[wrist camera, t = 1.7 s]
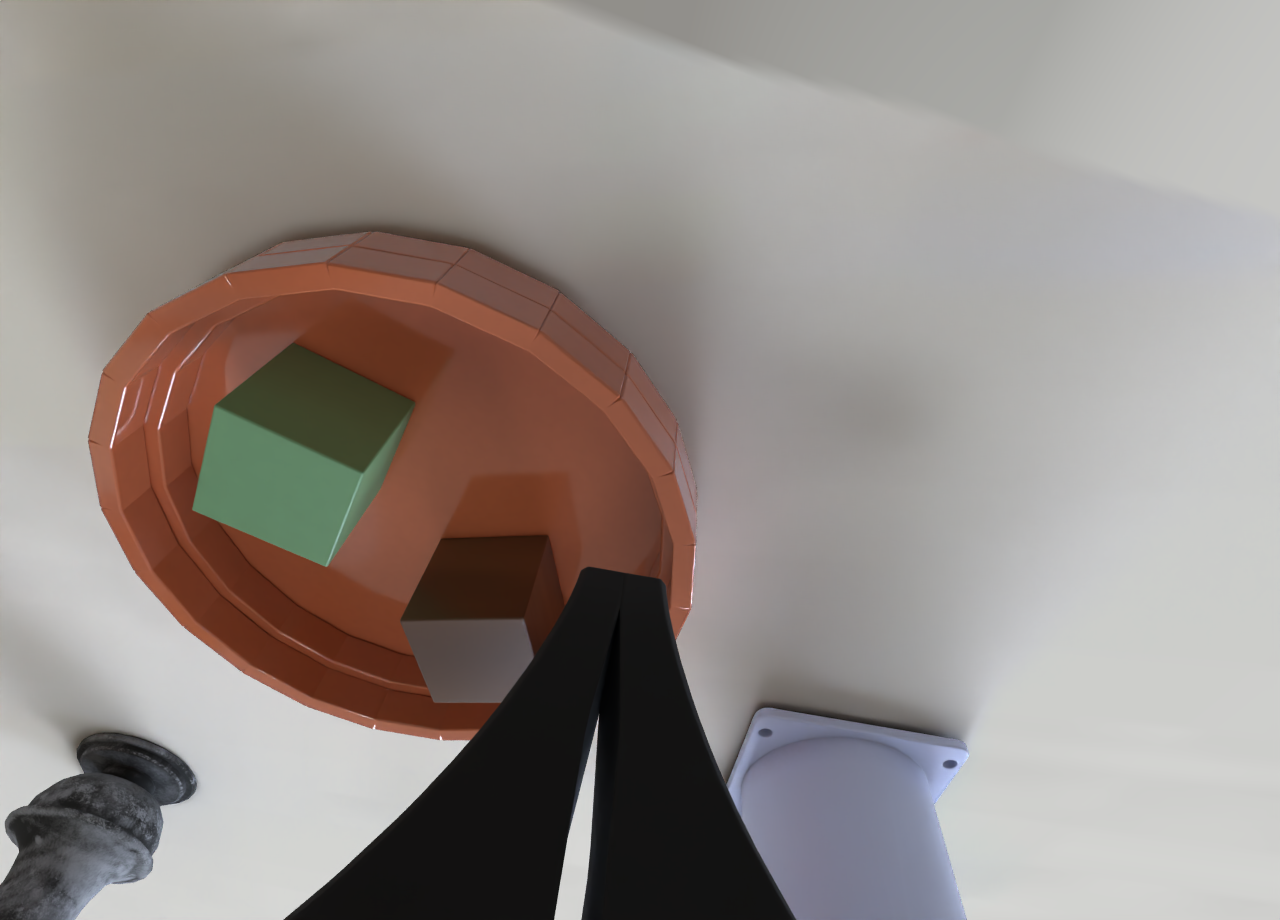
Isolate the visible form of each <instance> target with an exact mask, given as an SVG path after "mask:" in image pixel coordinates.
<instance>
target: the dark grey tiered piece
mask: <svg viewBox="0 0 1280 920" xmlns="http://www.w3.org/2000/svg"><path fill="white" fill-rule="evenodd" d="M77 759H78V761H79V763H80V765H81V767H82V769H83V771H84V774H80V775H77V776H73V777H69V778H66V779H63V780H61V781H59V782H57V783H55V784H54V785H52V786H51V787H49V788H48V789H46V790H45V791H43V792H41V793H40V794H38V795H37V796H36V797H35V798H34V799H33V800H32V801H31V803H30V804H29V805H28V806H23V807H20V808H18V809H17V810H15V811H13V812H11V813H10V814H9V816H8V817H7V819H6V820H5V829H6V833H7V835H8V836H9V838H10V839H11V841H12V842H13V843H14V844H15V845H16V846H17V847H18V848H19V854H18V856H17V858H16V860H15V862H14V864H13V866H12V868H11V870H10V871H9V873H8V875H7V876H6V878H5V880H4V881H3V883H2V884H1V885H0V920H75V919H76V917H77V916H78V915H79V913H80V912H81V910H82V909H83V908H84V907H85V905H86V904H87V903H88V902H89V901H90V900H91V899H92V898H93V897H94V896H95V895H96V894H97V893H98V892H99V891H100V890H101V889H102V888H103V887H104V886H105V885H108V884H124V883H133V882H136V881H138V880H141V879H143V878H145V877H146V876H147V875H148V874H149V873H150V872H151V871H152V867H153V859H152V855H153V853H154V852H155V850H156V849H157V847H158V844H159V840H160V836H161V832H162V827H163V818H162V814H161V809H160V806H162V805H168V804H175V803H180V802H182V801H185V800H187V799H189V798H190V797H191V796H192V795H193V793H194V792H195V790H196V785H197V783H196V780H195V777H194V774H193V773H192V772H191V770H190V769H189V768H188V766H187V765H186V764H184V763H183V762H182V761H181V760H180V759H179V758H178V757H176V756H175V755H173V754H171V753H170V752H168V751H167V750H165V749H163V748H161V747H159V746H157V745H155V744H152V743H150V742H148V741H145V740H141V739H138V738H135V737H131V736H126V735H121V734H104V733H103V734H97V735H92V736H90V737H88V738H86V739H84V740H83V741H82V742H81V743H80V745H79V746H78V748H77Z"/></svg>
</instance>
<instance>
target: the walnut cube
mask: <svg viewBox="0 0 1280 920" xmlns="http://www.w3.org/2000/svg"><path fill="white" fill-rule="evenodd" d="M564 607H565V605H564V601H563V597H562V592H561V588H560V584H559V579H558V575H557V571H556V566H555V562H554V558H553V553H552V549H551V545H550V540H549V536H548V535H538V536H507V537H476V538H444V539H440V541H439V543H438V545H437V547H436V549H435V551H434V553H433V555H432V557H431V559H430V561H429V563H428V565H427V567H426V569H425V571H424V573H423V575H422V577H421V579H420V581H419V583H418V585H417V587H416V589H415V591H414V593H413V595H412V597H411V599H410V601H409V603H408V605H407V607H406V609H405V611H404V613H403V615H402V617H401V619H400V623H401V625H402V627H403V630H404V632H405V635H406V637H407V639H408V642H409V644H410V647H411V649H412V651H413V654H414V656H415V659H416V661H417V663H418V666H419V668H420V671H421V673H422V675H423V678H424V680H425V682H426V685H427V687H428V690H429V692H430V694H431V697H432V699H433V702H435V703H501V702H502V701H503V699H504V698H505V697H506V695H507V694H508V693H509V691H510V690H511V689H512V687H513V686H514V685H515V683H516V682H517V681H518V679H519V678H520V676H521V675H522V674H523V672H524V671H525V670H526V668H527V667H528V665H529V664H530V662H531V661H532V660H533V658H534V656H535V655H536V653H537V652H538V650H539V649H540V647H541V646H542V644H543V642H544V641H545V639H546V638H547V636H548V635H549V633H550V632H551V630H552V628H553V627H554V625H555V623H556V621H557V620H558V618H559V616H560V614H561V613H562V611H563V609H564Z"/></svg>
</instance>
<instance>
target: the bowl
mask: <svg viewBox="0 0 1280 920" xmlns="http://www.w3.org/2000/svg"><path fill="white" fill-rule="evenodd" d="M291 343H295V344H297V345H299V346H301V347H303V348H305V349H307V350H309V351H311V352H313V353H315V354H318V355H320V356H322V357H324V358H326V359H328V360H330V361H332V362H334V363H336V364H338V365H340V366H342V367H344V368H346V369H348V370H350V371H352V372H354V373H356V374H358V375H360V376H363V377H365V378H367V379H369V380H371V381H373V382H375V383H377V384H379V385H381V386H383V387H385V388H387V389H389V390H391V391H393V392H395V393H397V394H399V395H401V396H403V397H405V398H408V399H410V400H412V401H414V402H415V407H414V409H413V412H412V414H411V416H410V419H409V421H408V424H407V426H406V429H405V431H404V433H403V436H402V438H401V441H400V443H399V445H398V448H397V450H396V453H395V455H394V457H393V460H392V462H391V465H390V467H389V470H388V472H387V474H386V477H385V479H384V482H383V484H382V486H381V489H380V490H379V492H378V493H377V495H376V496H375V498H374V499H373V501H372V502H371V504H370V505H369V507H368V508H367V510H366V511H365V512H364V514H363V515H362V517H361V518H360V520H359V521H358V523H357V524H356V526H355V527H354V529H353V530H352V532H351V533H350V534H349V536H348V537H347V539H346V540H345V542H344V543H343V545H342V546H341V548H340V549H339V551H338V552H337V554H336V555H335V556H334V558H333V559H332V561H331V562H330V564H329V565H328V566H327V567H325V566H323V565H320V564H318V563H316V562H313V561H311V560H309V559H306V558H304V557H301V556H299V555H297V554H294V553H292V552H290V551H287V550H285V549H283V548H280V547H278V546H276V545H273V544H271V543H268V542H266V541H264V540H261V539H259V538H257V537H254V536H252V535H250V534H247V533H245V532H243V531H240V530H238V529H235V528H233V527H231V526H228V525H226V524H224V523H221V522H219V521H217V520H214V519H212V518H210V517H207V516H205V515H202V514H200V513H198V512H195V511H193V510H192V507H193V503H194V498H195V493H196V489H197V484H198V479H199V475H200V470H201V465H202V461H203V456H204V451H205V447H206V442H207V437H208V432H209V428H210V423H211V418H212V414H213V409H214V405H215V404H217V403H218V402H219V401H220V400H222V399H223V398H224V397H225V396H227V395H228V394H229V393H230V392H232V391H233V390H234V389H235V388H237V387H238V386H239V385H240V384H242V383H243V382H244V381H245V380H247V379H248V378H249V377H250V376H252V375H253V374H254V373H255V372H257V371H258V370H259V369H260V368H262V367H263V366H264V365H265V364H267V363H268V362H269V361H270V360H271V359H273V358H274V357H275V356H276V355H278V354H279V353H280V352H281V351H283V350H284V349H285V348H286V347H288V346H289V345H290V344H291ZM88 438H89V440H88V444H89V449H90V454H91V460H92V465H93V471H94V476H95V481H96V487H97V492H98V498H99V503H100V506H101V507H102V508H101V510H102V512H103V514H104V516H105V517H106V519H107V521H108V523H109V525H110V527H111V529H112V531H113V533H114V534H115V536H116V538H117V540H118V542H119V544H120V546H121V548H122V549H123V551H124V553H125V555H126V557H127V559H128V561H129V563H130V565H131V566H132V568H133V570H134V571H135V573H136V574H137V576H138V577H139V578H140V579H141V580H142V581H143V582H144V583H145V585H146V586H147V587H148V588H149V589H150V590H151V591H152V592H153V594H154V595H155V596H156V597H157V598H158V599H159V600H160V602H161V603H162V604H163V605H164V606H165V607H166V608H167V609H168V611H169V612H170V613H171V614H172V615H173V616H174V617H175V619H176V620H177V621H178V622H179V623H180V624H181V625H182V626H184V628H185V629H187V630H188V631H189V632H190V633H192V634H193V635H194V636H196V637H197V638H198V639H200V640H201V641H202V642H203V643H205V644H206V645H207V646H209V647H210V648H211V649H213V650H214V651H215V652H216V653H218V654H219V655H220V656H222V657H223V658H224V659H226V660H227V661H228V662H229V663H231V664H232V665H233V666H235V667H236V668H237V669H239V670H240V671H242V672H243V673H244V674H246V675H248V676H250V677H252V678H253V679H255V680H257V681H259V682H261V683H263V684H265V685H267V686H269V687H271V688H272V689H274V690H276V691H278V692H280V693H282V694H284V695H286V696H288V697H289V698H291V699H293V700H295V701H297V702H299V703H301V704H303V705H305V706H307V707H309V708H312V709H315V710H318V711H321V712H324V713H327V714H330V715H333V716H336V717H339V718H342V719H345V720H348V721H351V722H354V723H357V724H360V725H362V726H365V727H368V728H371V729H374V728H375V729H377V730H382V731H388V732H394V733H400V734H406V735H412V736H418V737H424V738H430V739H436V740H441V739H442V740H471V739H472V738H473V737H474V736H475V734H476V733H477V732H478V731H479V730H480V728H481V727H482V726H483V725H484V724H485V722H486V721H487V720H488V719H489V717H490V716H491V715H492V714H493V712H494V711H495V710H496V709H497V707H498V706H499V705H500V704H501V703H435V702H433V699H432V697H431V694H430V692H429V690H428V687H427V685H426V682H425V680H424V678H423V675H422V673H421V671H420V668H419V666H418V663H417V661H416V659H415V656H414V654H413V651H412V649H411V647H410V644H409V642H408V639H407V637H406V635H405V632H404V630H403V627H402V625H401V623H400V619H401V617H402V615H403V613H404V611H405V609H406V607H407V605H408V603H409V601H410V599H411V597H412V595H413V593H414V591H415V589H416V587H417V585H418V583H419V581H420V579H421V577H422V575H423V573H424V571H425V569H426V567H427V565H428V563H429V561H430V559H431V557H432V555H433V553H434V551H435V549H436V547H437V545H438V543H439V541H440V539H444V538H476V537H507V536H538V535H548V536H549V540H550V545H551V549H552V553H553V558H554V562H555V566H556V571H557V575H558V579H559V584H560V588H561V592H562V597H563V601H564V605H566V604H567V602H568V600H569V598H570V596H571V594H572V591H573V589H574V587H575V585H576V582H577V580H578V577H579V574H580V571H581V570H582V569H584V568H586V567H588V566H589V567H595V568H601V569H607V570H612V571H618V572H624V573H630V574H636V575H641V576H647V577H653V578H659V579H661V580H662V581H663V582H664V583H665V585H666V592H667V600H668V607H669V613H670V618H671V623H672V628H673V632H674V636H675V640H676V639H677V637H678V635H679V633H680V631H681V629H682V627H683V625H684V623H685V620H686V618H687V616H688V614H689V612H690V610H691V608H692V596H693V582H694V569H695V555H696V532H697V487H696V483H695V480H694V476H693V473H692V470H691V466H690V463H689V459H688V456H687V452H686V449H685V445H684V442H683V438H682V435H681V431H680V428H679V424H678V423H677V419H676V418H675V416H674V415H673V413H672V412H671V410H670V409H669V407H668V406H667V404H666V403H665V401H664V400H663V398H662V397H661V395H660V394H659V392H658V391H657V389H656V388H655V386H654V385H653V383H652V382H651V380H650V379H649V377H648V376H647V374H646V373H645V371H644V370H643V368H642V367H641V365H640V364H639V362H638V361H637V360H636V358H635V357H634V355H633V354H632V353H630V351H629V350H628V349H627V348H626V347H625V346H623V345H622V344H621V343H620V342H619V341H617V340H616V339H615V338H614V337H613V336H612V335H610V334H609V333H608V332H607V331H606V330H605V329H603V328H602V327H601V326H600V325H599V324H597V323H596V322H595V321H594V320H593V319H592V318H590V317H589V316H588V315H587V314H586V313H585V312H583V311H582V310H581V309H580V308H579V307H577V306H576V305H575V304H574V303H573V302H572V301H570V300H569V299H568V298H567V297H566V296H565V295H563V294H562V293H559V290H557V289H555V288H553V287H551V286H549V285H547V284H544V283H542V282H540V281H538V280H536V279H534V278H532V277H530V276H528V275H526V274H523V273H521V272H519V271H517V270H515V269H513V268H511V267H509V266H507V265H505V264H502V263H500V262H498V261H496V260H494V259H492V258H490V257H488V256H486V255H483V254H481V253H479V252H477V251H475V250H473V249H470V250H469V248H466V247H460V246H455V245H449V244H444V243H438V242H433V241H427V240H421V239H416V238H410V237H405V236H399V235H394V234H388V233H383V232H377V231H374V232H360V233H352V234H344V235H335V236H327V237H319V238H310V239H302V240H294V241H286V242H281V243H279V244H277V245H275V246H273V247H271V248H269V249H267V250H265V251H263V252H261V253H259V254H257V255H256V256H254V257H252V258H250V259H248V260H246V261H244V262H242V263H240V264H238V265H236V266H234V267H232V268H230V269H228V270H226V271H224V272H222V273H220V274H218V275H216V276H214V277H212V278H211V279H209V280H207V281H205V282H203V283H201V284H199V285H198V286H196V287H194V288H192V289H190V290H188V291H187V292H185V293H183V294H181V295H179V296H177V297H175V298H174V299H172V300H170V301H168V302H166V303H164V304H162V305H161V306H159V307H157V308H155V309H153V310H151V311H150V312H149V313H147V314H146V316H145V317H144V318H143V319H142V321H141V322H140V323H139V325H138V326H137V327H136V328H135V330H134V331H133V332H132V333H131V335H130V336H129V337H128V338H127V340H126V341H125V342H124V344H123V345H122V346H121V347H120V349H119V350H118V351H117V352H116V354H115V355H114V356H113V358H112V359H111V360H110V361H109V363H108V364H107V365H106V366H105V368H104V369H103V372H102V375H101V380H100V384H99V389H98V394H97V398H96V403H95V408H94V412H93V417H92V422H91V426H90V431H89V436H88Z"/></svg>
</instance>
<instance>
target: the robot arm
mask: <svg viewBox="0 0 1280 920" xmlns="http://www.w3.org/2000/svg"><path fill="white" fill-rule="evenodd" d="M598 716H599V724H598V740H597V755H596V770H595V786H594V802H593V818H592V833H591V849H590V859H589V869H588V879H587V886H586V893H585V899H584V906H583V913H582V920H967V918H966V915H965V911H964V908H963V904H962V901H961V897H960V894H959V890H958V887H957V883H956V880H955V876H954V873H953V869H952V866H951V862H950V859H949V855H948V852H947V848H946V845H945V841H944V838H943V834H942V831H941V827H940V824H939V820H938V817H937V813H936V810H935V806H934V804H935V803H936V801H937V800H938V798H939V797H940V796H941V794H942V793H943V791H944V790H945V789H946V787H947V786H948V785H949V783H950V782H951V780H952V779H953V778H954V776H955V775H956V774H957V772H958V771H959V769H960V768H961V767H962V765H963V764H964V762H965V761H966V760H967V758H968V756H969V752H968V749H967V746H966V744H965V743H964V742H963V741H960V740H957V739H951V738H945V737H940V736H934V735H928V734H922V733H916V732H910V731H904V730H898V729H892V728H887V727H881V726H875V725H869V724H863V723H857V722H851V721H845V720H839V719H834V718H828V717H822V716H816V715H810V714H804V713H798V712H792V711H786V710H781V709H775V708H763V709H760V710H758V711H757V712H756V713H755V715H754V718H753V720H752V723H751V725H750V728H749V730H748V733H747V735H746V738H745V740H744V743H743V745H742V748H741V750H740V753H739V755H738V758H737V760H736V762H735V765H734V767H733V770H732V772H731V775H730V777H729V780H728V782H727V785H726V784H725V781H724V779H723V777H722V775H721V772H720V770H719V768H718V765H717V763H716V760H715V758H714V755H713V753H712V751H711V748H710V746H709V743H708V740H707V738H706V735H705V732H704V730H703V727H702V724H701V722H700V719H699V716H698V713H697V710H696V708H695V705H694V702H693V699H692V696H691V693H690V689H689V686H688V683H687V680H686V676H685V673H684V670H683V667H682V663H681V660H680V656H679V652H678V649H677V645H676V640H675V636H674V632H673V628H672V623H671V618H670V613H669V607H668V600H667V592H666V585H665V583H664V582H663V581H662V580H661V579H659V578H653V577H647V576H641V575H636V574H630V573H624V572H618V571H612V570H607V569H601V568H595V567H589V566H588V567H586V568H584V569H582V570H581V571H580V574H579V577H578V580H577V582H576V585H575V587H574V589H573V591H572V594H571V596H570V598H569V600H568V602H567V604H566V605H565V607H564V609H563V611H562V613H561V614H560V616H559V618H558V620H557V621H556V623H555V625H554V627H553V628H552V630H551V632H550V633H549V635H548V636H547V638H546V639H545V641H544V642H543V644H542V646H541V647H540V649H539V650H538V652H537V653H536V655H535V656H534V658H533V660H532V661H531V662H530V664H529V665H528V667H527V668H526V670H525V671H524V672H523V674H522V675H521V676H520V678H519V679H518V681H517V682H516V683H515V685H514V686H513V687H512V689H511V690H510V691H509V693H508V694H507V695H506V697H505V698H504V699H503V701H502V702H501V704H500V705H499V706H498V707H497V709H496V710H495V711H494V712H493V714H492V715H491V716H490V717H489V719H488V720H487V721H486V722H485V724H484V725H483V726H482V727H481V728H480V730H479V731H478V732H477V733H476V734H475V736H474V737H473V738H472V739H471V740H470V741H469V743H468V744H467V745H466V746H465V747H464V748H463V750H462V751H461V752H460V753H459V754H458V755H457V756H456V758H455V759H454V760H453V761H452V762H451V763H450V764H449V765H448V766H447V767H446V768H445V769H444V771H443V772H442V773H441V774H440V775H439V776H438V777H437V778H436V779H435V780H434V781H433V782H432V783H431V784H430V785H429V787H428V788H427V789H426V790H425V791H424V792H423V793H422V794H421V795H420V796H419V797H418V798H417V799H416V800H415V801H414V802H413V803H412V804H411V805H410V806H409V807H408V808H407V809H406V810H405V811H404V812H403V813H402V814H401V815H400V816H399V817H398V818H397V819H396V820H395V821H394V822H393V823H392V824H391V825H390V826H389V827H388V828H386V829H385V830H384V831H383V832H382V833H381V834H380V835H379V836H378V837H377V838H376V839H375V840H374V841H373V842H372V843H370V844H369V845H368V846H367V847H366V848H365V849H364V850H363V851H362V852H361V853H360V854H359V855H358V856H357V857H355V858H354V859H353V860H352V861H351V862H350V863H349V864H348V865H347V866H346V867H345V868H344V869H343V870H341V871H340V872H339V873H338V874H337V875H336V876H335V877H334V878H332V879H331V880H330V881H329V882H328V883H327V884H326V885H324V886H323V887H322V888H321V889H320V890H318V891H317V892H316V893H315V894H314V895H312V896H311V897H310V898H309V899H308V900H306V901H305V902H304V903H303V904H302V905H300V906H299V907H298V908H297V909H296V910H294V911H293V912H292V913H291V914H290V915H289V916H287V917H286V918H285V919H284V920H554V916H555V910H556V904H557V898H558V892H559V886H560V880H561V874H562V868H563V862H564V856H565V850H566V844H567V838H568V834H569V830H570V826H571V822H572V818H573V814H574V810H575V806H576V803H577V799H578V795H579V791H580V787H581V783H582V779H583V775H584V771H585V767H586V763H587V759H588V755H589V751H590V747H591V744H592V740H593V736H594V732H595V728H596V724H597V720H598Z"/></svg>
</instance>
